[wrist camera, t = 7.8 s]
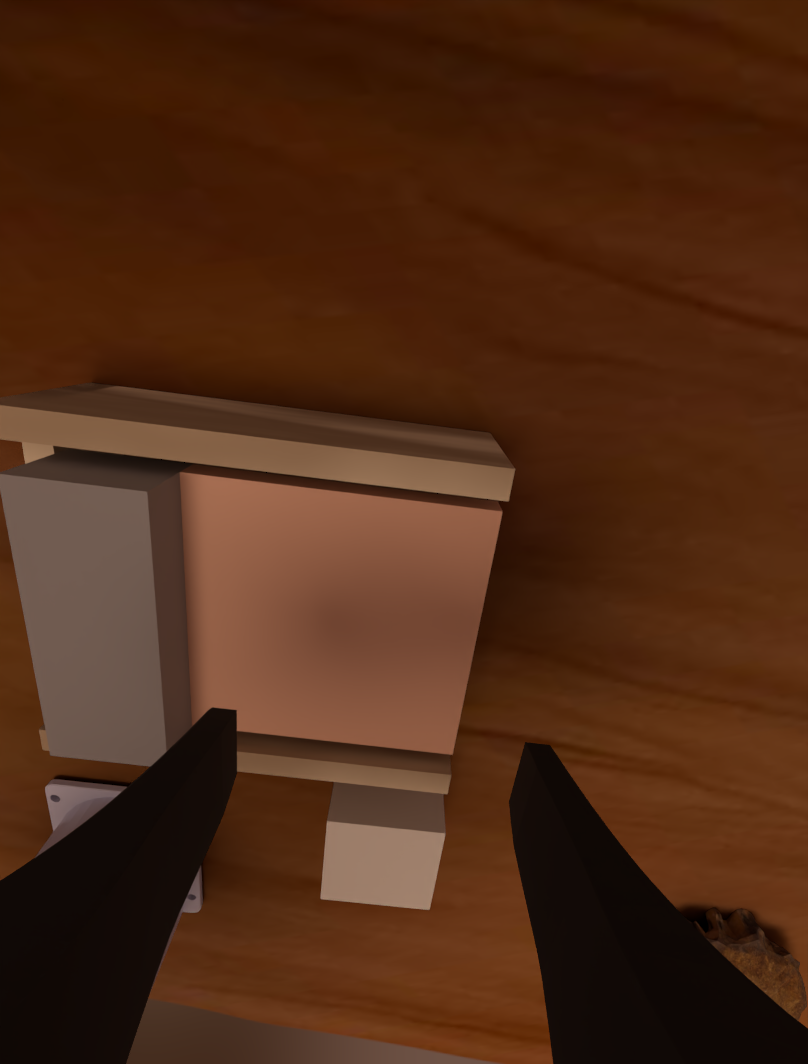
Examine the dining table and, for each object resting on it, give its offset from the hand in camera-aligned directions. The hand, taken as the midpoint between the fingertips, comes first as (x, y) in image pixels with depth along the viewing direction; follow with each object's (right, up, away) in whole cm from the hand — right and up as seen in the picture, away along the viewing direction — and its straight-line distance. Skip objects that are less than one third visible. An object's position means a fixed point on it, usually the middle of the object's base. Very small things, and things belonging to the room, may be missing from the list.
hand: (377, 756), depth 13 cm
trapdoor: (-4, +3, +6) cm, 7 cm away
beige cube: (0, -7, +14) cm, 16 cm away
